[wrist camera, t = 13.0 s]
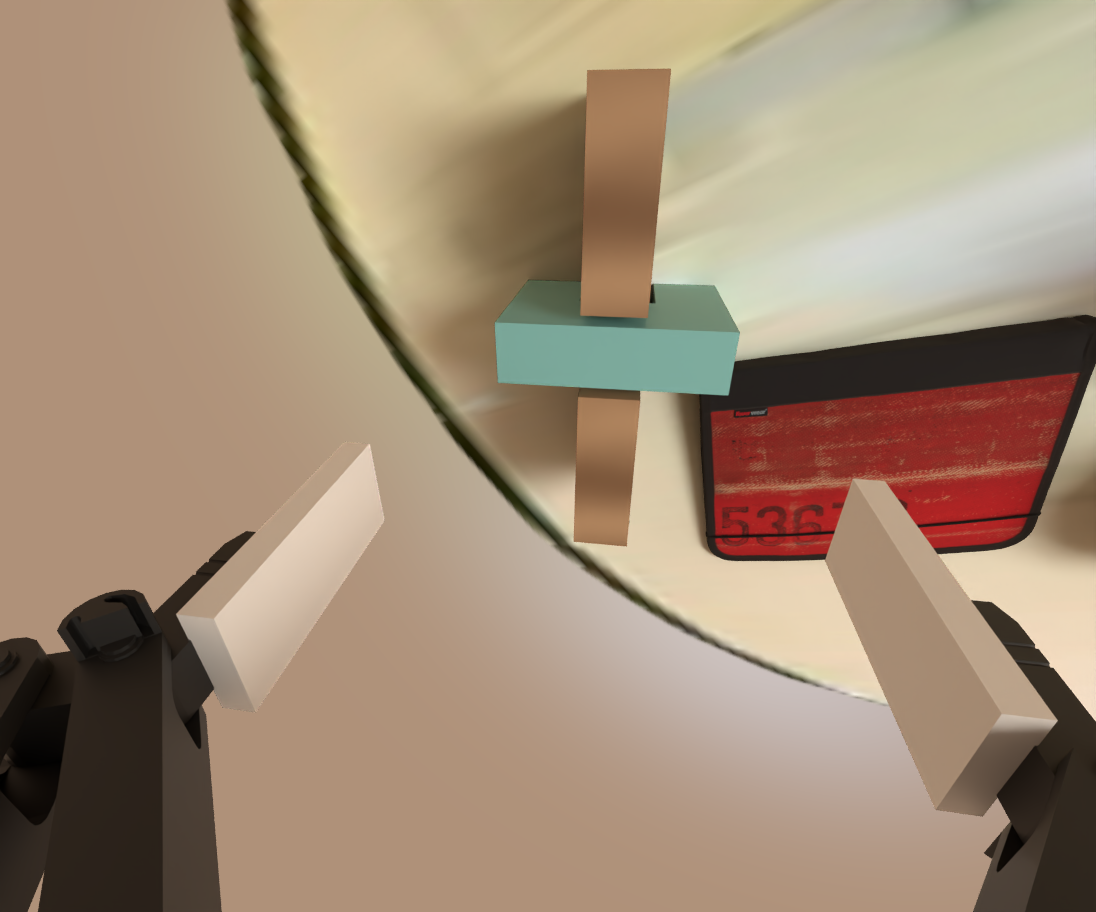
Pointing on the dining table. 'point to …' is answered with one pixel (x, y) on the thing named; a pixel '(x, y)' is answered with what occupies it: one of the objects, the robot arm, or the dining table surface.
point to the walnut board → (616, 278)
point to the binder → (894, 437)
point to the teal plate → (618, 341)
